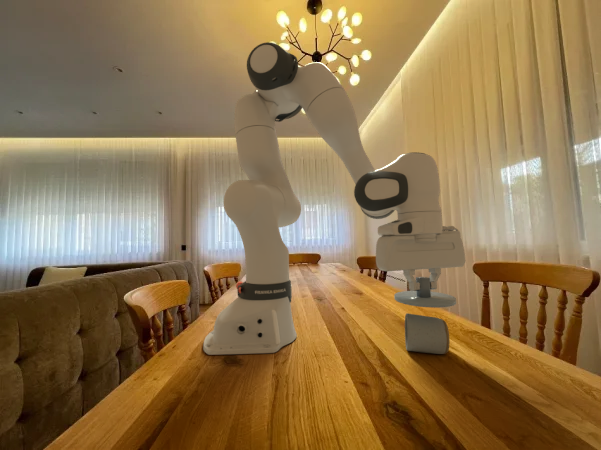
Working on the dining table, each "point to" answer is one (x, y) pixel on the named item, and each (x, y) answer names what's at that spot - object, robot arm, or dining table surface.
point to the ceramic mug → (426, 334)
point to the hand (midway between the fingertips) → (423, 289)
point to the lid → (425, 296)
